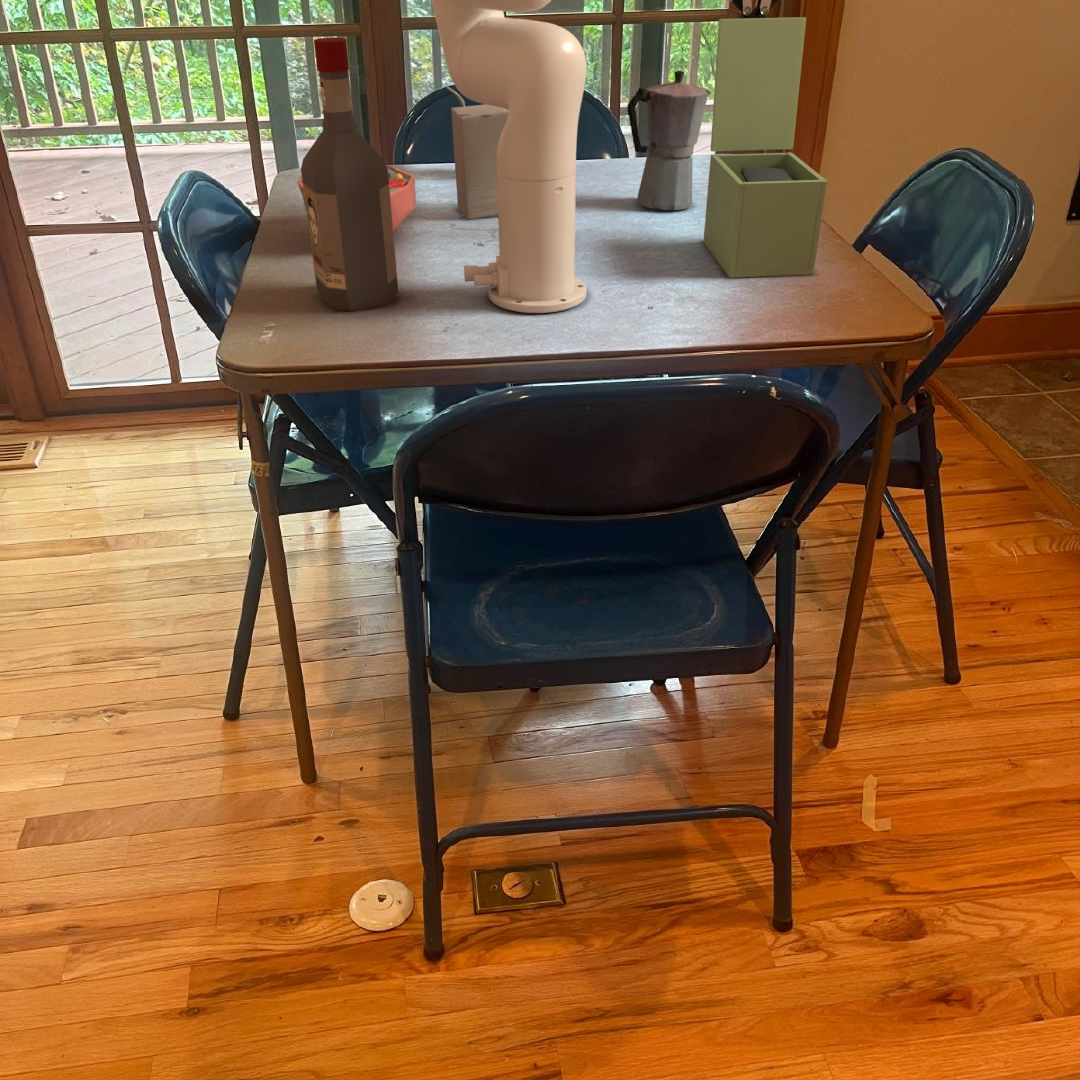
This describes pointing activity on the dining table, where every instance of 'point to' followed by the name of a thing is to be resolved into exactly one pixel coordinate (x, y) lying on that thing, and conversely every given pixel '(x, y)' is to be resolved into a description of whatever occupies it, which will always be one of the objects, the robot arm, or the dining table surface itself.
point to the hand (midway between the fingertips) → (749, 46)
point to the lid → (757, 83)
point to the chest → (763, 216)
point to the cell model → (394, 194)
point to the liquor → (347, 198)
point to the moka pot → (668, 141)
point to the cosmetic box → (477, 158)
